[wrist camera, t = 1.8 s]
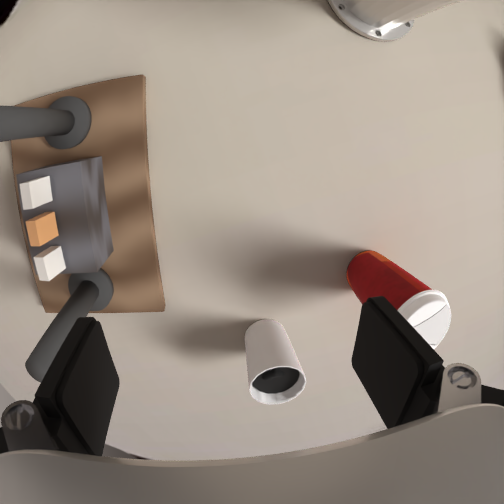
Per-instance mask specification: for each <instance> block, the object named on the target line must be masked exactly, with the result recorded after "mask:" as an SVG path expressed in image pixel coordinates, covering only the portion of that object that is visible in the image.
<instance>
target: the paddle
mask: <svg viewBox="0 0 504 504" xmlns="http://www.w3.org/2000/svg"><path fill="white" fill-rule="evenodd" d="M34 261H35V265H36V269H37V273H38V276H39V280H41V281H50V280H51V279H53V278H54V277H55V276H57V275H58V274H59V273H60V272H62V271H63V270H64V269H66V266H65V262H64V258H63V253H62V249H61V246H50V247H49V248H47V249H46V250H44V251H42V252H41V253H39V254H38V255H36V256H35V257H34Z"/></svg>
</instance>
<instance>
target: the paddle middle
mask: <svg viewBox="0 0 504 504" xmlns="http://www.w3.org/2000/svg"><path fill="white" fill-rule="evenodd" d="M26 226H27V231H28V236H29V241H30V245H31V246H42V245H43V244H45V243H47V242H48V241H50V240H52V239H53V238H55V237H57V236H59V234H58V229H57V224H56V218H55V212H45V213H42V214H40V215H38V216H36V217H34V218H32V219H30V220H28V221H26Z"/></svg>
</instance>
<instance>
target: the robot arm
mask: <svg viewBox="0 0 504 504" xmlns="http://www.w3.org/2000/svg"><path fill="white" fill-rule="evenodd" d="M460 1H463V0H328V2H329V4H330V6H331V8H332V9H333V11H334V12H335V13H336V15H337V16H338V17H339V18H340V19H341V20H342V21H343V22H344V23H345V24H346V25H347V26H348V27H350V28H351V29H352V30H354V31H355V32H357V33H359V34H360V35H362V36H365V37H367V38H369V39H373V40H376V41H384V42H387V41H394V40H397V39H400V38H402V37H404V36H405V35H406V34H408V33H409V32H410V30H411V29H412V27H413V23H414V19H416V18H418V17H421V16H423V15H426V14H428V13H431V12H433V11H436V10H438V9H441V8H444V7H446V6H449V5H452V4H455V3H458V2H460ZM442 364H443V359H442V358H441V357H440V356H439V355H438V354H437V353H436V352H435V350H434V349H433V348H432V347H431V346H430V345H429V344H428V343H427V342H426V341H425V339H424V338H423V337H422V336H421V335H420V334H419V333H418V332H417V331H416V330H415V329H414V328H413V326H412V325H411V324H410V323H409V322H408V321H407V320H406V319H405V318H404V317H403V316H402V315H401V314H400V313H399V312H398V311H397V310H396V308H395V307H394V306H393V305H392V304H391V303H390V302H389V301H388V300H387V299H386V298H385V297H384V296H377V297H370V298H368V299H367V300H366V302H364V303H363V305H362V309H361V315H360V321H359V326H358V331H357V336H356V341H355V346H354V351H353V355H352V366H353V368H354V370H355V372H356V374H357V375H358V377H359V379H360V381H361V382H362V384H363V386H364V388H365V389H366V391H367V393H368V395H369V396H370V398H371V400H372V402H373V404H374V405H375V407H376V409H377V411H378V413H379V414H380V416H381V418H382V420H383V422H384V423H385V425H386V427H387V429H386V430H383V431H380V432H376V433H373V434H369V435H366V436H362V437H358V438H355V439H351V440H347V441H343V442H338V443H334V444H329V445H325V446H320V447H315V448H310V449H304V450H299V451H293V452H286V453H280V454H273V455H265V456H256V457H247V458H235V459H221V460H197V461H162V460H140V459H125V458H113V457H103V456H102V453H103V448H104V444H105V440H106V435H107V431H108V427H109V423H110V419H111V415H112V411H113V407H114V404H115V400H116V396H117V392H118V389H119V377H118V374H117V371H116V369H115V366H114V363H113V360H112V357H111V354H110V352H109V349H108V346H107V342H106V339H105V336H104V333H103V330H102V327H101V324H100V322H99V321H96V320H95V318H94V317H79V318H78V319H77V320H76V322H75V323H74V325H73V327H72V328H71V330H70V332H69V333H68V335H67V337H66V338H65V340H64V342H63V344H62V345H61V347H60V349H59V351H58V352H57V354H56V356H55V358H54V360H53V361H52V363H51V365H50V367H49V369H48V371H47V372H46V374H45V376H44V378H43V380H42V382H41V384H40V386H39V388H38V390H37V392H36V394H35V399H34V401H33V403H32V402H30V401H27V400H20V401H16V402H14V403H12V404H11V405H9V406H8V407H7V408H6V409H5V410H4V412H3V414H2V417H1V424H2V427H1V428H0V504H504V390H500V389H496V388H492V387H488V386H484V385H481V379H480V376H479V374H478V372H477V371H476V370H475V369H474V368H472V367H470V366H469V365H466V364H461V363H454V364H451V365H448V366H447V367H446V368H445V367H444V366H443V365H442Z"/></svg>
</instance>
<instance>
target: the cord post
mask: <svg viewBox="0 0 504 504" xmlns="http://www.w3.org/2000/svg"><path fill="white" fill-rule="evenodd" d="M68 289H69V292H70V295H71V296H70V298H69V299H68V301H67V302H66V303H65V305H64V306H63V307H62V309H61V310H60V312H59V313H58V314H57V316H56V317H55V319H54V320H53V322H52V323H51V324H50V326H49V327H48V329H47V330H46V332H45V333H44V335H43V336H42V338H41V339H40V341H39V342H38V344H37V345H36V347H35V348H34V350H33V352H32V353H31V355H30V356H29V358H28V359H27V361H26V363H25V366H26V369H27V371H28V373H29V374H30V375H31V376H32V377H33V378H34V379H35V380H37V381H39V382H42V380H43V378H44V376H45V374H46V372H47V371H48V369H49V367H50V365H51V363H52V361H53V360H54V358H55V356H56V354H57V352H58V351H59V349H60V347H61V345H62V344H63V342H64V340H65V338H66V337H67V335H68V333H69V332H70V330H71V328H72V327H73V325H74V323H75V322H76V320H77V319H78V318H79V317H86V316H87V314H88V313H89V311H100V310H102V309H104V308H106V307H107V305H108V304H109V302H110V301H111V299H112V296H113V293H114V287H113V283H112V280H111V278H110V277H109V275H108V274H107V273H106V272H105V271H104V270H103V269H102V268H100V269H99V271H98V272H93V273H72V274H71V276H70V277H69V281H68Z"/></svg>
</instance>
